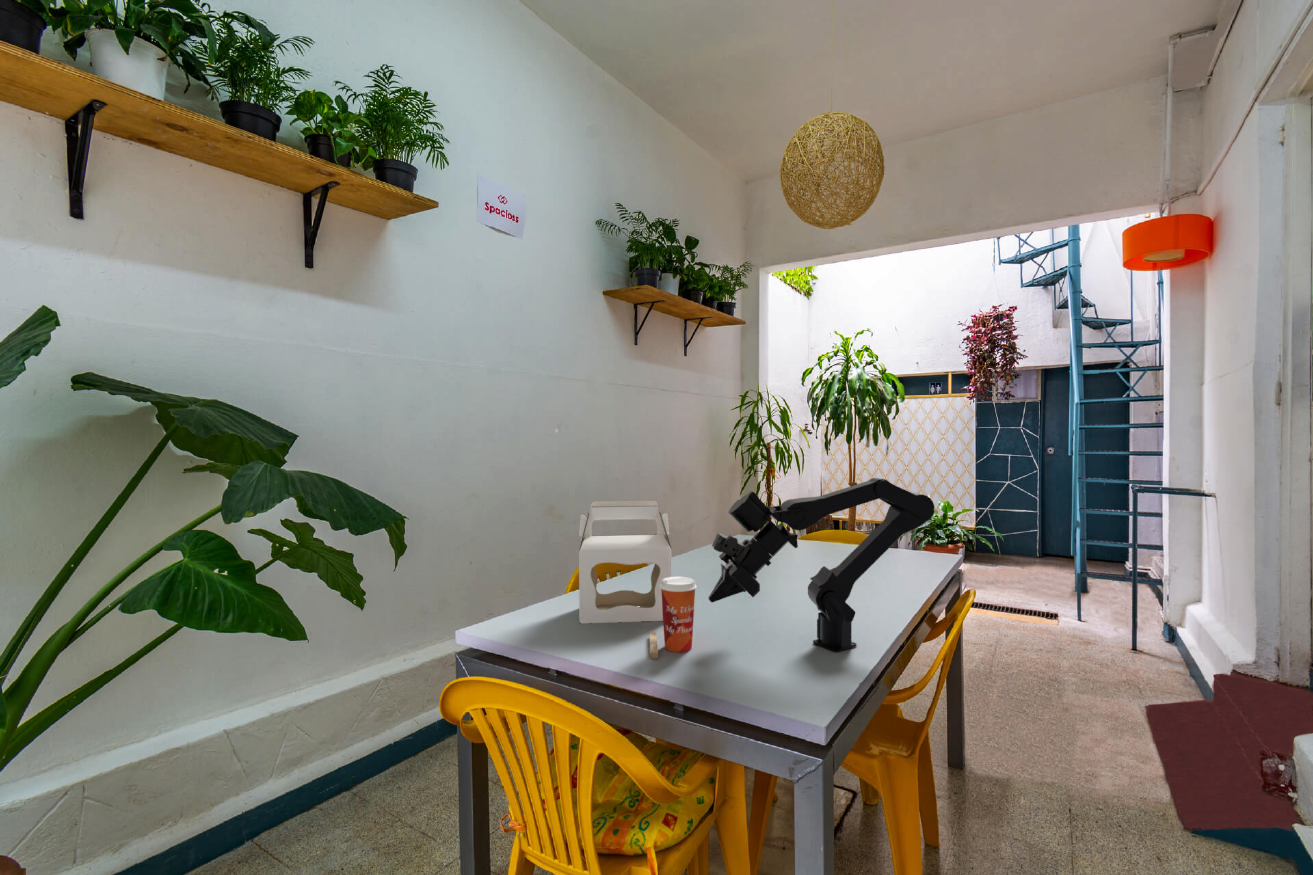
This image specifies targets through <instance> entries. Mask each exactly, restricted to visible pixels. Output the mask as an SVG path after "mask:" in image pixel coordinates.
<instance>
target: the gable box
mask: <svg viewBox="0 0 1313 875" xmlns="http://www.w3.org/2000/svg"><path fill="white" fill-rule="evenodd" d="M668 515H669V514H668V512H663V513H662V514H661V511H659V505H658V502H657V501H656V500H655V499H650V500H648V499H647V500H645V499H644V500H595V501H594V500H593V501H592V502H591V503H590V508H589V512H588V513H587V516H586V514H584V513H583V514H580V520H579V530H578V536H579V537H581V538H580V544H579V548H578V587H579V588H578V590H579V591H578V592H579V594H578V599H579V601H578V603H579V606H578V609H579V610H578V611H579V612H578V616H579V619H578V620H579V624H580V623H581V624H580V625H582V624H583V625H587V624H589V623H592V624H617V623H618V624H620V623H619V622H622V623H642V622H641V621H652V622H663V612H662V592H661V588H660V585H661V583H662V580H663V579H665V578H668V577H673V576H672V546H671V543H670V540H669V537H668V535H670V526H669V516H668ZM611 520H612V521H613V520H614V521H616V520H619V521H620V520H649V521H651V520H653V521H655V522H656V534H654V533H653V534H652V533H651V534H649V533H647V534H610V535H609V534H608V535H607V534H606V535H605V534H603V535H601V534H600V535H593V527H592V526H593V523H594V522H595V521H596V522H597V521H611ZM606 563H607V564H609V563H612V564H620V565H629V566H631V565H633V566H634V565H640V564H641V565H642V564H654V566H653V569H652V571H651V574H650V582H651V583H650V585H651V586H650V587H651V589H650V591H649V592H646V593H641V592H638V591H634V590H618V591H613V592H609V593H599V592H598V591H597V584H598V576H597V572H596V569H595V566H596V565H600V564H606ZM637 606H640V607H637Z"/></svg>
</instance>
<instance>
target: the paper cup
mask: <svg viewBox="0 0 1313 875" xmlns="http://www.w3.org/2000/svg"><path fill="white" fill-rule="evenodd" d="M697 587H698V586H697V584H696V581H695V580H694V579H693V578H691V577H687V576H672V577H668V578H665V579H663V580H662V583H661V585H660V588H661V592H662V612H663V621H662V623H663V625H662V626H663V637H664V638H663V639H664V648H665V650H666V651H668V652H673V653H686V652H688V651H690V650H692V648H693V647H692V646H693V636H694V635H693V634H694V618H695V617H694V616H695V598H696V597H695V596H696V589H697Z"/></svg>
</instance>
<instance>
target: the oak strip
mask: <svg viewBox="0 0 1313 875" xmlns="http://www.w3.org/2000/svg"><path fill="white" fill-rule="evenodd" d="M648 635H649V636H648V637H649V655H650V656H649V658H650V659H651V660H652V659H653V660H655V659H659V651H658V650H659V649H658V648H659V646H658V637H657V636H658V635H657V632H656V631H655V632H654V631H651V632H649V633H648Z"/></svg>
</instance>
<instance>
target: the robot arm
mask: <svg viewBox="0 0 1313 875" xmlns="http://www.w3.org/2000/svg"><path fill="white" fill-rule="evenodd" d="M877 500H880V501H882V502H883V503H885V504H887V505H889V507H888V508H887V509H888V510H887V512H886V514H885V517H884V519H883V520H882V522H880V524H878V525H877V527H876V528H874V530H873V531H872V532H871V533H870V534H869V535H868V536H867V537H866V538H864V540H862V541H861V543H859V544H858V546H857V547H856V548H855V549H853V550H852V552H850V553H849V554H848V555H847V556H846V557H845V558H844V560H842V562H841V563H840V564H838V565H837V566H835V567H833V568H831V569H829V568H828V567H826V566H825V565H823V566H822V567H821V568H820V569H819V571H818V572H817V574H815V575H814V576H812V577H810V580H811V581H810V582H809V584H808V585H807V595H808V598H809V599H810V601H811V602H812V603H813V604H814V605H815V606H816V608H817V610H818V611H819V612H818V613H817V619H816V638H817V639H814V640H812V643H813V644H815V645H817V646H820V647H823V648H825V649H828V650H829V651H833V652H835V653H837V652H838V653H839V652H841V651H845V650H848V649H851V648H855V647H857V646H858V644H857V642H854V641H852V635H853V634H852V622H853V621H854V619H855V618H854V617H855V616H856V611H855V610H854V609H853V608H852V607H851V606H850V605H849V604H848V603H847V601H848V598H850V596H851V593H852V591H853V588H854V585H855V583H856V582H857V581H858V580H859V579H860V577H862V576H863V575H864V574H865V573H866V572H867V571H868V570H869V569H870V568H871V567H872V566H873V565H874V564H875V563H876V562H877V561H878V560H879V559H880V558H881V557H882V556H883V555H884V554H885V553H886V552H887V551H888V550H889V549H890V548H891V547H892V546H893V545H894V544H896V542H897V541H898V540H900V538H901V537H902V536H903V535H905V534H907V533H909V532H912V531H914V530H916V529H919V528H920V527H921V526H923V525H924V524H926V523H927V522H928V521H929V520H931V519H932V518H933V516H934V515H935V505H934V501H933V500H932V498H930V497H929V496H928V495H925V494H921V493H918V492H914V491H913V492H912V491H908V490H906V489H904V488H902V487H900V486H897V485H895V484H893V483H891V482H890V481H889V480H887V479H884V478H879V477H872V478H870V479H869V480H866V481H863V482H860V483H857V484H854V485H850V486H847V487H845V488H841V489H839V490H836V491H832V492H828V493H826V494H823V495H820V496H809V497H807V496H806V497H797V498H791V499H787V500H785V501H783V502H782V503H781V505H773V506H767V505H766V504H765V503H764V502H763V501H762V500H761V499H760V497H759V496H758V494H756V493H755V492H754V491H753V490H751V491H748V492H747V494H744V495H743V496H742V497H741V498H740V499H737V500H736V501H735V502H733V504H732V506H731V507H730V508H729V510H728V514H729V515H730V516H731V517H732V518H733V519H734V520H735V521H736V522H737V523H738V524H739V525H740V526H741V527H742V528H743V529H744V530H745V531H746V532H747V533H749V532H751V531H752V532H754V533H755V535H754V536H752V538H751V539H750V540H749V539H744V540H743V542H740V541H738V538H737V537H734V536H732V535H728V536H727V535H725V534H723V533H721V532H717V534H716V537H715V538H714V540H713V542H712V544H711V546H712V547H713V549H714V551H716V552H719V553H720V554H719V555H718V557H719V559H720V560H721V561H723V562H724V563H725V565H723V563H720V572H721V574H720V577H719V579H718V581H717V582H716V584H715V586H714V588H713V589H712V591H711V592H710V594H709V596H708V601H709V602H710V603H715V602H718V601H721V600H723V599H726V598H728V597H731V596H735V595H737V594H741V593H746V592H747V593H748V594H749V595H750V596H751V597H752V598H754V597H755V596H757V594H758V593H759V592H761V584H760V583H759V581H758V579H757V578H758V575H757V574H758V573H759V572H760V571H761V570H762V569H763V568H764V567H765V566H767V567H769V566H770V565H771V564H772V562H771V560H772V559H773V558H774V557H775V556H776V555H777V554H778V553H779V552H780V551H781V550H782V549H783V548H784V547H785V545H787V544H788V543H789V545H790V546H792V547H793V548H794V549H797V548H798V547H799V546H798V545H799V544H798V537H799V534H797V533H795V532H793V533H792V532H790V531H789V530H788V529H787V528H786V527H785V526H784V525H786V526H787V527H789V528H791V529H793V530H795V531H803V530H806V529H808V528H810V527H811V526H814V525H815V524H818V523H819V522H820V521H821V520H823V519H825V518H826V517H827V516H829V515H832V514H835V513H838V512H842V511H844V510H847V509H851V508H854V507H857V506H860V505H864V504H866V503H869V502H872V501H877ZM770 517H771V518H772V519H773V520H775V521H777V522H779V523H783V524H784V525H783V524H777V525H776V524H775V523H774V522H773V521H772V520H771V518H770Z"/></svg>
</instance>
